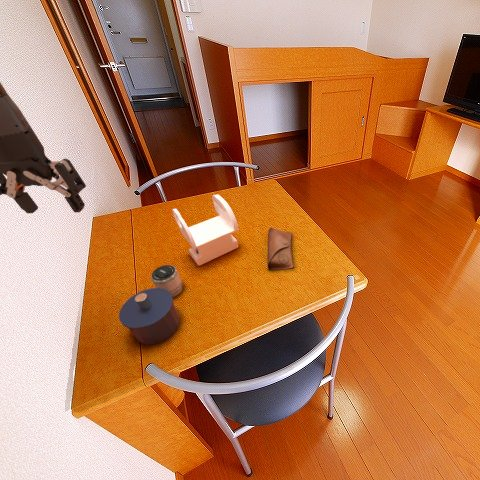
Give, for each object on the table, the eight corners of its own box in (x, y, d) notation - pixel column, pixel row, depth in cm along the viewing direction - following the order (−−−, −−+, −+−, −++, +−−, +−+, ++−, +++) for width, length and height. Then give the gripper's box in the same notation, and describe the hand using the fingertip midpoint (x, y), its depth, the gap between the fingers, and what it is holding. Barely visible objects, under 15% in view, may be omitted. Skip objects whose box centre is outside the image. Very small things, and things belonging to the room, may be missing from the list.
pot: (161, 349, 65) (150, 332, 60) (125, 338, 67) (111, 320, 62) (188, 314, 72) (180, 296, 68) (155, 304, 74) (145, 286, 69)
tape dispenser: (201, 271, 84) (185, 224, 72) (185, 249, 91) (167, 203, 80) (243, 251, 92) (234, 205, 80) (224, 232, 99) (214, 188, 87)
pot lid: (151, 336, 60) (143, 324, 57) (109, 323, 62) (99, 311, 59) (183, 296, 68) (178, 284, 65) (145, 286, 70) (138, 274, 67)
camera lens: (172, 302, 75) (162, 283, 70) (154, 294, 77) (144, 275, 72) (188, 285, 80) (180, 266, 75) (171, 279, 81) (162, 260, 76)
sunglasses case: (295, 267, 86) (283, 254, 82) (276, 276, 88) (264, 264, 83) (292, 231, 99) (281, 219, 95) (276, 240, 101) (265, 228, 97)
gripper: (-75, 135, 41) (3, 223, 51) (30, 136, 42) (85, 221, 53) (-31, 119, 46) (31, 201, 57) (60, 120, 48) (104, 200, 58)
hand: (56, 210), depth 55 cm, fingers open, 8 cm apart
